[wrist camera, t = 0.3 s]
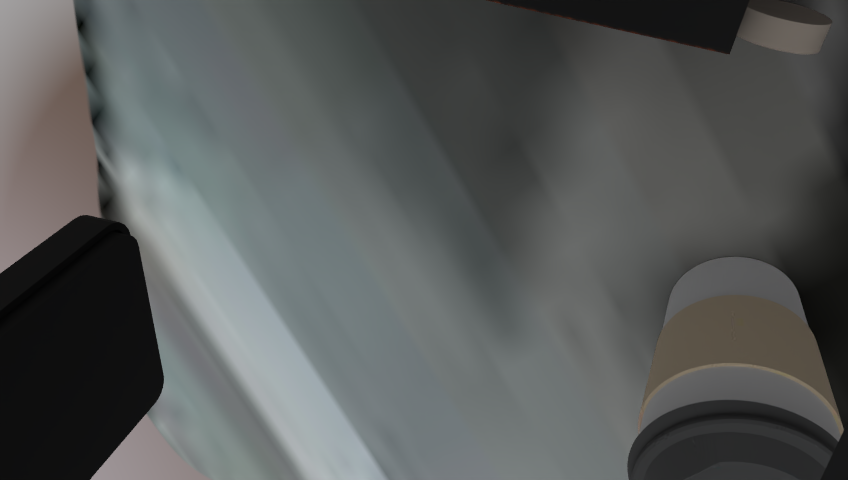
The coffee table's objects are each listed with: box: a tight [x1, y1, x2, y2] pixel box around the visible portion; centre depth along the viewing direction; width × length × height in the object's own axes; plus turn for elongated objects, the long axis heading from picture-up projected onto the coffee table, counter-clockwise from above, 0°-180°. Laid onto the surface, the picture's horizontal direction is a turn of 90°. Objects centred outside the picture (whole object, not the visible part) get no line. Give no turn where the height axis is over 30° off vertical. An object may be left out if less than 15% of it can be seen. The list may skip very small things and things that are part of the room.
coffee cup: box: [628, 257, 844, 480], centre depth 37 cm, size 9×9×15 cm
